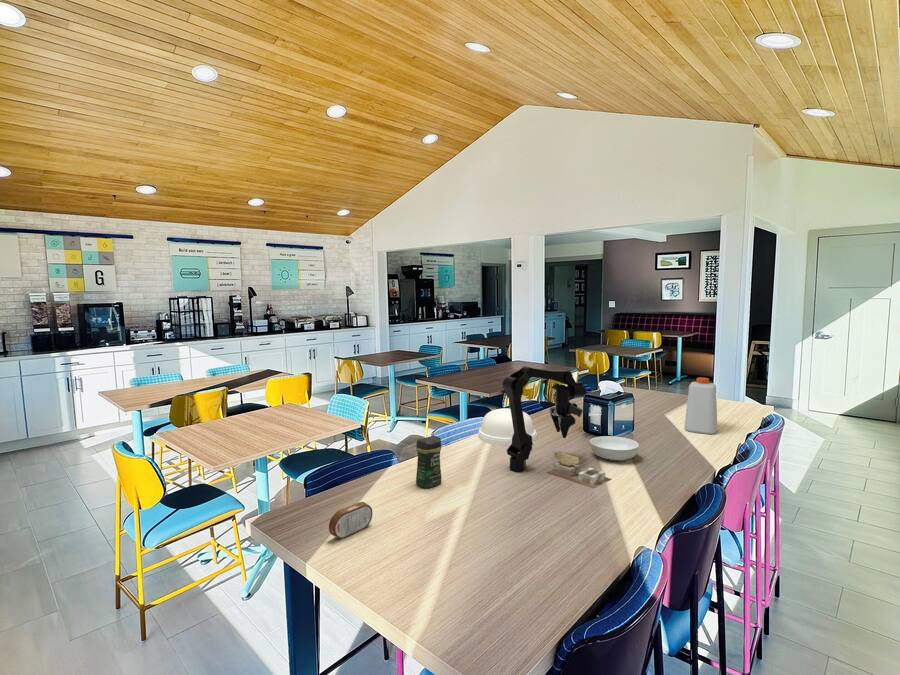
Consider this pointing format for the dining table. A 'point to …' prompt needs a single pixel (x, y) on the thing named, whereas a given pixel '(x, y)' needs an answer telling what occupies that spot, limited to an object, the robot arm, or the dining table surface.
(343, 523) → the tin
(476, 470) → the dining table surface
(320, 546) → the dining table surface
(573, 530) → the dining table surface
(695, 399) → the plastic bottle
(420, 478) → the coffee jar
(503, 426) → the dome cover
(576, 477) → the board
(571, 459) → the gold rectangular bar
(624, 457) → the serving bowl
